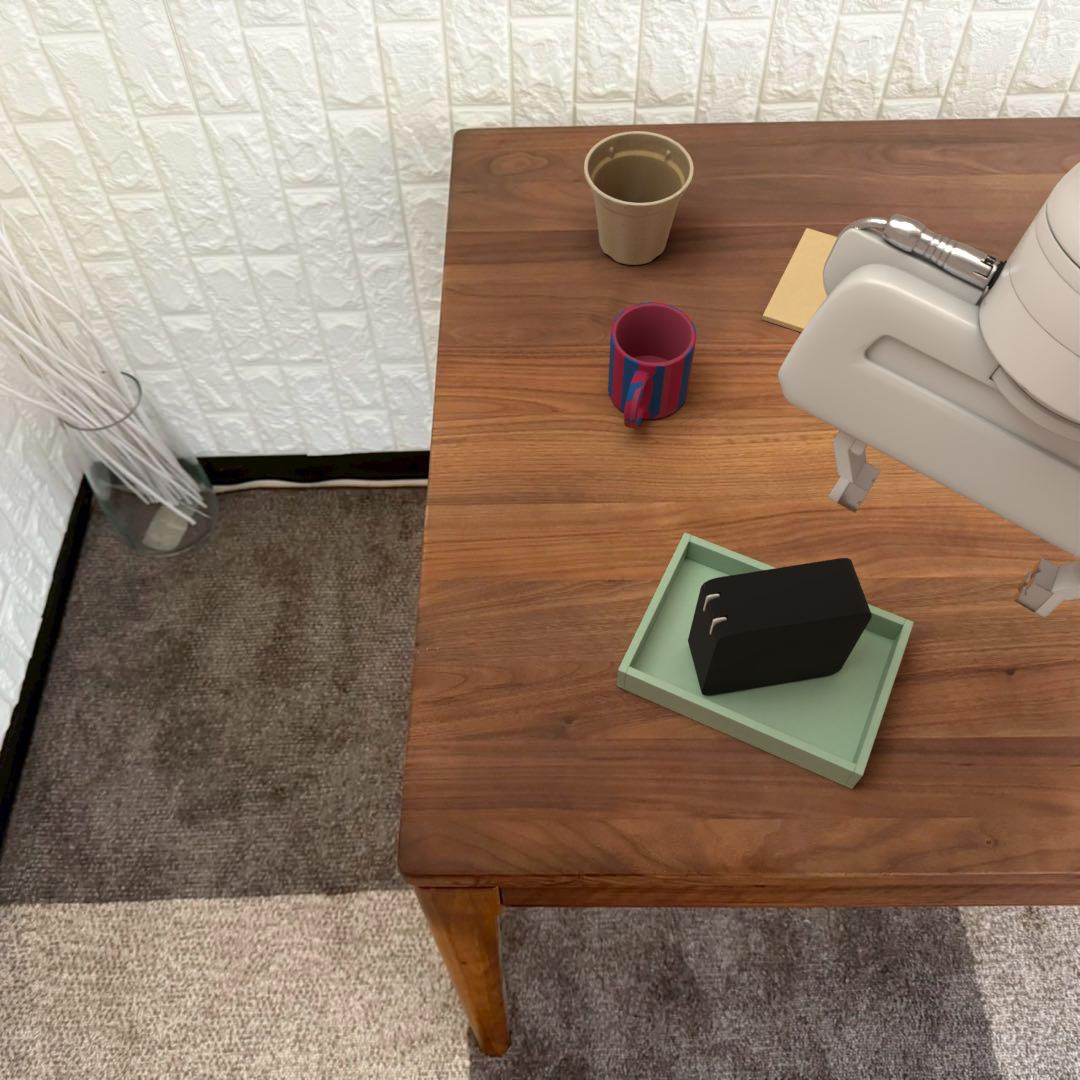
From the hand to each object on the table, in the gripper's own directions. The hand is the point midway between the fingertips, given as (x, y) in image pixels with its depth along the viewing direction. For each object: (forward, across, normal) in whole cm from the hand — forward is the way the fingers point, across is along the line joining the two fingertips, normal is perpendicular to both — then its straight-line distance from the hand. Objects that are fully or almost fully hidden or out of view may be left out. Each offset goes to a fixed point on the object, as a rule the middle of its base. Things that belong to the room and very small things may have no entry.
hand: (936, 548), depth 47 cm
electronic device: (+25, -3, +8) cm, 26 cm away
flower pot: (+22, -32, +40) cm, 56 cm away
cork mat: (+19, -12, +44) cm, 49 cm away
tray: (+25, -3, +8) cm, 27 cm away
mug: (+24, -22, +24) cm, 41 cm away
